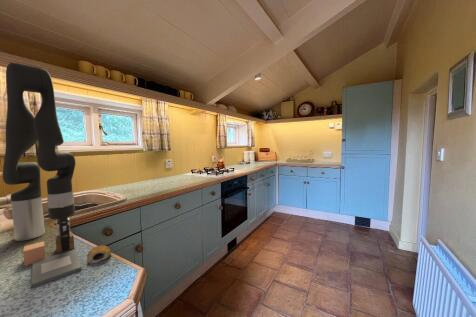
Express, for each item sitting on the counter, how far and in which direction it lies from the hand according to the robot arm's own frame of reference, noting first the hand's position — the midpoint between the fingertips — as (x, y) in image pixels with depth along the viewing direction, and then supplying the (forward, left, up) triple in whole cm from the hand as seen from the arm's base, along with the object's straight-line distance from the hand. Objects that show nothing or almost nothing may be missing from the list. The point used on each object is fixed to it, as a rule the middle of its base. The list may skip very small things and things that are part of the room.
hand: (65, 247), depth 76 cm
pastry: (+17, +8, -1) cm, 19 cm away
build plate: (+14, -3, -1) cm, 14 cm away
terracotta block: (+2, -8, -1) cm, 8 cm away
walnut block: (0, 0, 0) cm, 0 cm away
